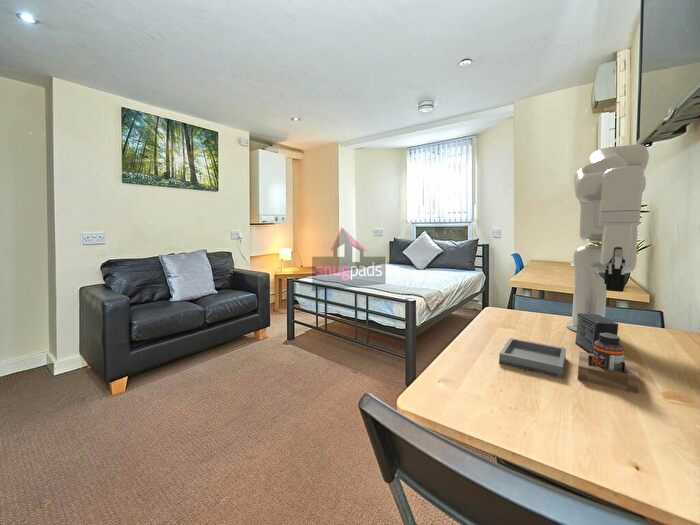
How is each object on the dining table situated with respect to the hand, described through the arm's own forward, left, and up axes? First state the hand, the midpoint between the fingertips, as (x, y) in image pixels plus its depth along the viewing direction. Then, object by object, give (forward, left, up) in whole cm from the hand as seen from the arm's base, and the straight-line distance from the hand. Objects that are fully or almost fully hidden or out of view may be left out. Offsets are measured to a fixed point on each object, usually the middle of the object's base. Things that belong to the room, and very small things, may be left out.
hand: (613, 287), depth 77 cm
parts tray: (0, -17, -24) cm, 29 cm away
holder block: (0, 0, -24) cm, 24 cm away
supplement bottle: (0, 0, -24) cm, 24 cm away
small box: (-20, -2, -24) cm, 31 cm away
